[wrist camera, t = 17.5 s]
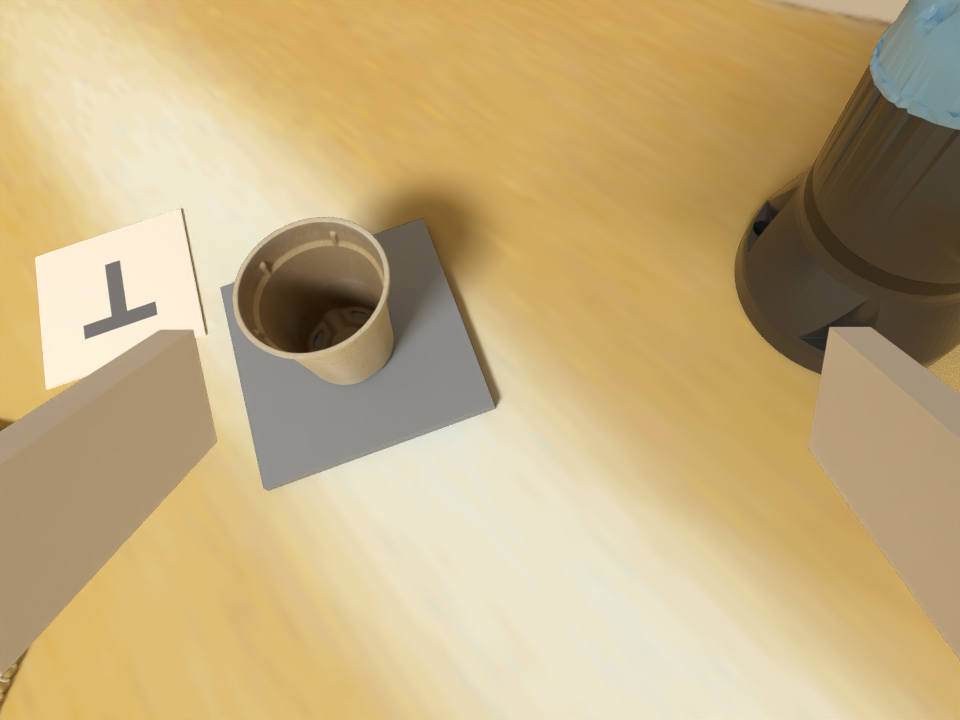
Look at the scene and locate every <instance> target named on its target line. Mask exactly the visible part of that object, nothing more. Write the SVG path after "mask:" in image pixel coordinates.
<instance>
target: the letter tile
mask: <svg viewBox="0 0 960 720" xmlns="http://www.w3.org/2000/svg"><path fill="white" fill-rule="evenodd" d="M35 262H36V274H37V286H38V298H39V311H40V323H41V335H42V347H43V359H44V371H45V383H46V390H49V389H52V388H55V387H57V386H60V385H63V384H66V383H69V382H72V381H75V380H78V379H81V378H83V377H86V376H88V375H90V374H91V373H93V372H94V371H96V370H97V369H99V368H101V367H102V366H104V365H105V364H107V363H108V362H110V361H111V360H113V359H115V358H116V357H118V356H119V355H121V354H122V353H124V352H126V351H127V350H129V349H130V348H132V347H133V346H135V345H137V344H138V343H140V342H141V341H143V340H144V339H146V338H148V337H149V336H151V335H152V334H154V333H155V332H157V331H159V330H189V329H193V330H194V334H195V339H196V338H199V337H202V336H205V335H206V332H205V327H204V321H203V316H202V311H201V306H200V301H199V296H198V291H197V286H196V281H195V276H194V271H193V266H192V261H191V256H190V251H189V246H188V240H187V235H186V230H185V225H184V220H183V215H182V210H181V208H180V209H177V210H174V211H171V212H168V213H165V214H162V215H159V216H156V217H153V218H150V219H147V220H144V221H142V222H139V223H136V224H133V225H130V226H127V227H124V228H121V229H118V230H115V231H112V232H109V233H106V234H103V235H100V236H97V237H94V238H91V239H88V240H85V241H82V242H79V243H76V244H73V245H70V246H67V247H64V248H61V249H58V250H55V251H52V252H49V253H46V254H43V255H40V256H37V257H35Z"/></svg>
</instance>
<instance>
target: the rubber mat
mask: <svg viewBox="0 0 960 720" xmlns="http://www.w3.org/2000/svg"><path fill="white" fill-rule="evenodd" d="M373 236H374V237H375V238H376V239H377V241H378V242H379V243H380V245H381V246H382V248H383V250H384V252H385V254H386V257H387V259H388V263H389V268H390V289H389V294H388V298H387V307H388V312H389V317H390V322H391V326H392V330H393V337H394V341H393V349H392V352H391V355H390V357H389V359H388V361H387V362H386V364H385V365H384V367H383V368H382V369H381V370H380V371H378V372H377V373H375V374H373V375H372V376H370V377H369V378H367V379H365V380H364V381H362V382H360V383H357V384H351V385H339V384H334V383H330V382H328V381H325V380H324V379H322V378H320V377H319V376H318V375H316V374H315V373H314V372H312V371H311V370H309V369H308V368H306V367H305V366H303V365H302V364H300V363H299V362H297V361H296V360H294V359H287V358H282V357H279V356H275V355H273V354H271V353H268V352H266V351H264V350H262V349H261V348H259V347H258V346H256V345H255V344H254V343H253V342H251V341H250V340H249V339H248V338H247V337H246V336H245V334H244V333H243V331H242V330H241V329H240V326H239V325H238V323H237V321H236V317H235V314H234V307H233V289H234V284H235V283H232V284H229V285H226V286H223V287H220V288H221V293H222V298H223V302H224V307H225V312H226V316H227V321H228V326H229V330H230V335H231V340H232V344H233V349H234V354H235V358H236V363H237V368H238V372H239V377H240V382H241V386H242V391H243V396H244V400H245V405H246V410H247V414H248V419H249V424H250V428H251V433H252V438H253V442H254V447H255V452H256V456H257V461H258V465H259V470H260V475H261V479H262V484H263V488H264V489H266V490H268V491H269V490H271V489H274V488H277V487H280V486H282V485H285V484H288V483H291V482H294V481H296V480H299V479H302V478H305V477H307V476H310V475H313V474H316V473H318V472H321V471H324V470H327V469H330V468H332V467H335V466H338V465H341V464H343V463H346V462H349V461H352V460H354V459H357V458H360V457H363V456H366V455H368V454H371V453H374V452H377V451H379V450H382V449H385V448H388V447H390V446H393V445H396V444H399V443H401V442H404V441H407V440H410V439H413V438H415V437H418V436H421V435H424V434H426V433H429V432H432V431H435V430H437V429H440V428H443V427H446V426H449V425H451V424H454V423H457V422H460V421H462V420H465V419H468V418H471V417H473V416H476V415H479V414H482V413H485V412H487V411H490V410H493V409H495V405H494V402H493V400H492V397H491V395H490V392H489V389H488V387H487V384H486V381H485V379H484V376H483V374H482V371H481V368H480V366H479V363H478V360H477V358H476V355H475V353H474V350H473V347H472V345H471V342H470V339H469V337H468V334H467V332H466V329H465V326H464V324H463V321H462V318H461V316H460V313H459V311H458V308H457V305H456V303H455V300H454V297H453V295H452V292H451V290H450V287H449V284H448V282H447V279H446V276H445V274H444V271H443V269H442V266H441V263H440V261H439V258H438V255H437V253H436V250H435V247H434V245H433V242H432V240H431V237H430V234H429V232H428V229H427V226H426V224H425V221H424V219H423V218H421V219H418V220H416V221H413V222H410V223H407V224H404V225H401V226H398V227H395V228H392V229H389V230H386V231H383V232H381V233H378V234H375V235H373ZM352 314H353V315H355V316H358V318H359V317H366V314H365V313H360V312H353V313H352ZM323 334H324V333H323V332H321V331H320V332H319V333H318V335H317V338H316V340H315V342H314V346H315V347H319V346H320V344H321V340H322V337H323Z"/></svg>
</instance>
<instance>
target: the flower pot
mask: <svg viewBox="0 0 960 720" xmlns="http://www.w3.org/2000/svg"><path fill="white" fill-rule="evenodd" d="M389 289H390V268H389V263H388V259H387V257H386V254H385V252H384V250H383V248H382V246H381V245H380V243H379V242H378V241H377V239H376V238H375V237H374V236H373V235H372V234H371V233H370V232H369V231H367V230H366V229H364V228H363V227H361V226H360V225H357V224H355V223H353V222H350V221H348V220H344V219H341V218H333V217H327V218H326V217H321V218H320V217H318V218H309V219H304V220H299V221H297V222H293V223H291V224H288V225H286V226H284V227H282V228H280V229H278V230H276V231H274V232H273V233H271V234H270V235H268V236H267V237H266V238H264V239H263V240H262V241H261V242H260V243H259V244H258V245H257V246H256V247H255V248H254V249H253V250H252V251H251V252H250V253H249V254H248V256H247V258H246V259H245V261H244V262H243V263H242V265H241V267H240V269H239V272H238V274H237V277H236V280H235V284H234V289H233V307H234V314H235V317H236V321H237V323H238V325H239V326H240V329H241V330H242V331H243V333H244V334H245V336H246V337H247V338H248V339H249V340H250V341H251V342H253V343H254V344H255V345H256V346H258V347H259V348H261V349H262V350H264V351H266V352H268V353H271V354H273V355H275V356H279V357H282V358H287V359H294V360H296V361H297V362H299V363H300V364H302V365H303V366H305V367H306V368H308V369H309V370H311V371H312V372H314V373H315V374H316V375H318V376H319V377H320V378H322V379H324V380H325V381H328V382H330V383H334V384H339V385H351V384H357V383H360V382H362V381H364V380H365V379H367V378H369V377H370V376H372V375H373V374H375V373H377V372H378V371H380V370H381V369H382V368H383V367H384V365H385V364H386V362H387V361H388V359H389V357H390V355H391V352H392V349H393V341H394V337H393V330H392V326H391V322H390V317H389V312H388V307H387V298H388V294H389ZM353 312H360V313H365V314H366V317H359V318H358V316H355V315H353V314H352V313H353ZM320 331H321V332H323V333H324V334H323V337H322V340H321V344H320V346H319V347H315V346H314V342H315V340H316V338H317V335H318V333H319V332H320Z"/></svg>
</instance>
